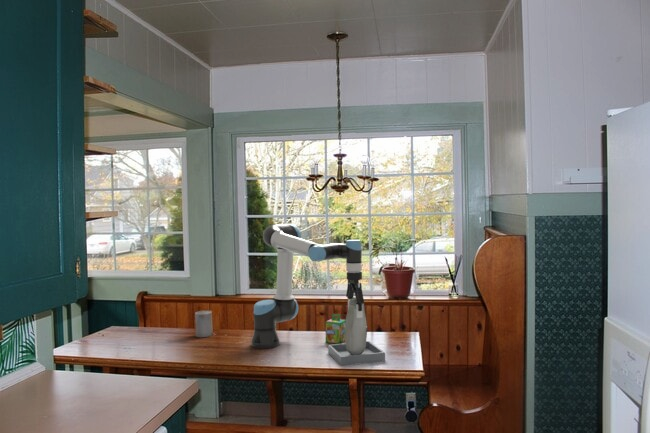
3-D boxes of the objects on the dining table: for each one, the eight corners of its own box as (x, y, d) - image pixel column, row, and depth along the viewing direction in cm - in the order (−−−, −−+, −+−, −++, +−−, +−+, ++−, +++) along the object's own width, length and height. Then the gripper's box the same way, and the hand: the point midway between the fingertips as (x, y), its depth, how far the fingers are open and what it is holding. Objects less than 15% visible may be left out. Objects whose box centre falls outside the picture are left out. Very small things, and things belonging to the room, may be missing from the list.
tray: (328, 352, 267) (328, 345, 267) (369, 348, 273) (369, 341, 273) (341, 365, 246) (340, 357, 246) (385, 360, 251) (385, 352, 251)
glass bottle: (363, 358, 253) (363, 300, 252) (342, 356, 256) (343, 298, 255) (368, 352, 262) (368, 296, 261) (348, 350, 266) (348, 295, 265)
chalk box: (325, 342, 286) (324, 315, 286) (331, 338, 295) (330, 312, 294) (341, 344, 283) (340, 316, 283) (347, 340, 291) (346, 313, 291)
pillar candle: (205, 332, 315) (204, 307, 315) (216, 334, 310) (215, 309, 309) (192, 336, 308) (191, 310, 307) (203, 338, 302) (202, 312, 301)
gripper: (370, 274, 247) (371, 319, 248) (353, 268, 271) (354, 309, 272) (355, 275, 245) (355, 320, 246) (339, 268, 269) (340, 310, 270)
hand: (355, 314), depth 259 cm, fingers open, 13 cm apart
